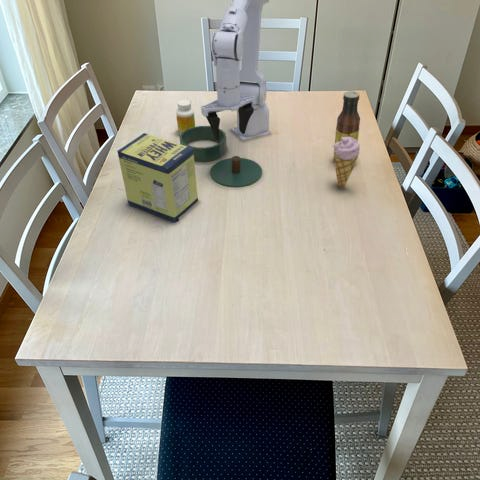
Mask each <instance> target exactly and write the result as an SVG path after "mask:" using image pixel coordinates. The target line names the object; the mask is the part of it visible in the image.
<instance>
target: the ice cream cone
mask: <svg viewBox="0 0 480 480" xmlns="http://www.w3.org/2000/svg"><path fill="white" fill-rule="evenodd" d="M331 147H332V148H334V147H335V153H334V152H333V156H334V155H335V162H334V166H335V175H336V182H337V186H338V188H341V189H342V188H343V189H344V188H345V186H346V184H347V182H348V180H349V178H350V176H351V174H352V172H353V170H354V167H355V166H356V163H357V160H358V157H359V155H360V149H361V144H360V143H359V141H358V142H357V140H356V139H354V138H351V137H341V141H340V142H337V143H335V142H334V143H333V145H332V146H331Z"/></svg>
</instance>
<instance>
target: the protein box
mask: <svg viewBox="0 0 480 480" xmlns="http://www.w3.org/2000/svg"><path fill="white" fill-rule="evenodd" d="M116 152H117V157H118V161H119V166H120V170H121V176H122V180H123V185H124V190H125V195H126V200H127V203H128V206H131V207H134V208H137V209H139V210H141V211H144V212H147V213H150V214H152V215H155V216H157V217H160V218H163V219H165V220H167V221H170V222H172V223H176V222H178V220H179V218H180V217H182V216H183V215H184V214H185V213H186V212H187V211H189V210H190V209H191V208H192V207H193V206H195V204H196V203H198V202H199V195H198V187H197V186H198V185H197V175H196V166H195V163H196V162H195V161H194V153H193V148H191V147H188V146H184V145H181V144H180V143H178V142H174V141H171V140H168V139H164V138H161V137H158V136H154V135H151V134H148V133H145V132H144V133H142V134H141V135H138V136H137V137H136V138H134V139H133V140H132V141H130V142H129V143H127V144H125V145H124V146H122V147H121V148H119V149H118V150H117V151H116Z"/></svg>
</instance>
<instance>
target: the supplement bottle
mask: <svg viewBox="0 0 480 480" xmlns="http://www.w3.org/2000/svg"><path fill="white" fill-rule="evenodd" d="M175 114H176V122H177V133H178V135H179V136H180V135H181V134H182V132H184V131H185V130H187V129H189V128H192V127H196V119H195V110H194V108H192V102H191V101H190V100H189V99H180V100H178V101H177V108H176V112H175Z"/></svg>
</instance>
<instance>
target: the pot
mask: <svg viewBox="0 0 480 480" xmlns="http://www.w3.org/2000/svg"><path fill="white" fill-rule="evenodd" d="M224 131H225V130H223V129H221V128H219V140H218V141H217V140H216V139H215V138H214V136H213V132H212V129H211V126H210V125H197V126H195V127H192V128H189V129H187V130H185V131H184V132H182V134H181V135H180V134H179V144H181V145H184V146H188V147H191V148H193V153H194V163H209V162H214V161H216V160H219V159H221V158H222V157H224V156H225V155H226V153H227V150H228V149H227V147H228V146H227V135H226V133H225V132H224ZM199 141H211V142H216V143H217V144H214V145H211V146H205V147H199V146H198V147H197V146H193V145H190V144H191V143H195V142H199Z"/></svg>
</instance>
